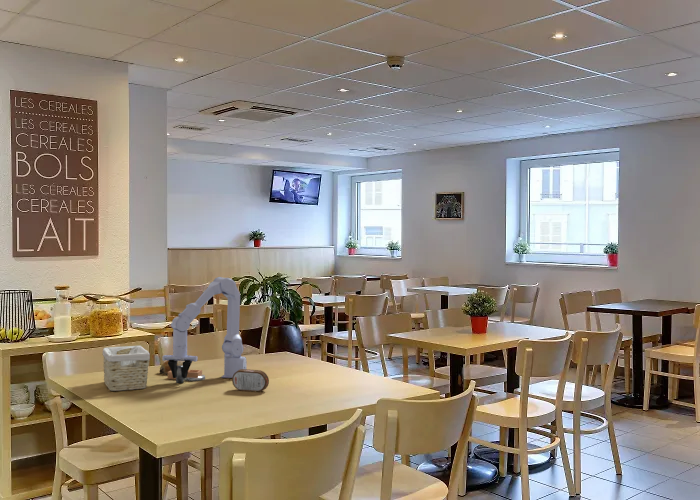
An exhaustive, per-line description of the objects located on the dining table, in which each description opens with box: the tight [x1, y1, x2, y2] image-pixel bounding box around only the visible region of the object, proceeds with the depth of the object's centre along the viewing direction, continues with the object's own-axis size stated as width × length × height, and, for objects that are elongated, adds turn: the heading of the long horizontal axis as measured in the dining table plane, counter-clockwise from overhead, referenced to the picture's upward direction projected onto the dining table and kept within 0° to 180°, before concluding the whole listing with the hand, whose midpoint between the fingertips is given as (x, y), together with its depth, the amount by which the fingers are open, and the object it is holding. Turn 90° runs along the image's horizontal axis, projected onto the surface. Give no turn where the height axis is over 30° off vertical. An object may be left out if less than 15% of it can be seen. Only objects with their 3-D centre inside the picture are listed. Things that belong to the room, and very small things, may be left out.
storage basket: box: [102, 345, 151, 392], centre depth 271 cm, size 24×16×15 cm
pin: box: [175, 365, 185, 384], centre depth 277 cm, size 3×3×7 cm
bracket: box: [167, 369, 203, 380], centre depth 285 cm, size 14×6×3 cm, turn 84°
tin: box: [231, 368, 270, 393], centre depth 263 cm, size 15×3×8 cm, turn 74°
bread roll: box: [159, 360, 183, 376], centre depth 298 cm, size 10×10×8 cm
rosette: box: [184, 374, 206, 382], centre depth 285 cm, size 10×10×1 cm
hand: (179, 378), depth 277 cm, fingers open, 4 cm apart
